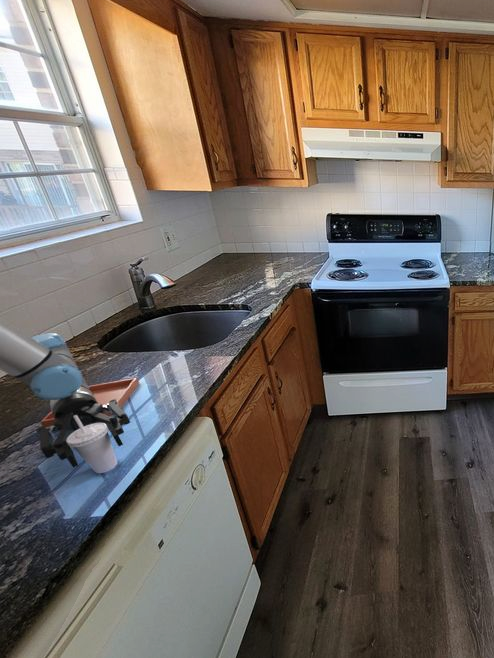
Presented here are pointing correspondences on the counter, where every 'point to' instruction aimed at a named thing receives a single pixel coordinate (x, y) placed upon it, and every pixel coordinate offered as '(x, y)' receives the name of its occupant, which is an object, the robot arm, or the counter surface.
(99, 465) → the smoothie
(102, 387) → the tray
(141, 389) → the counter surface
